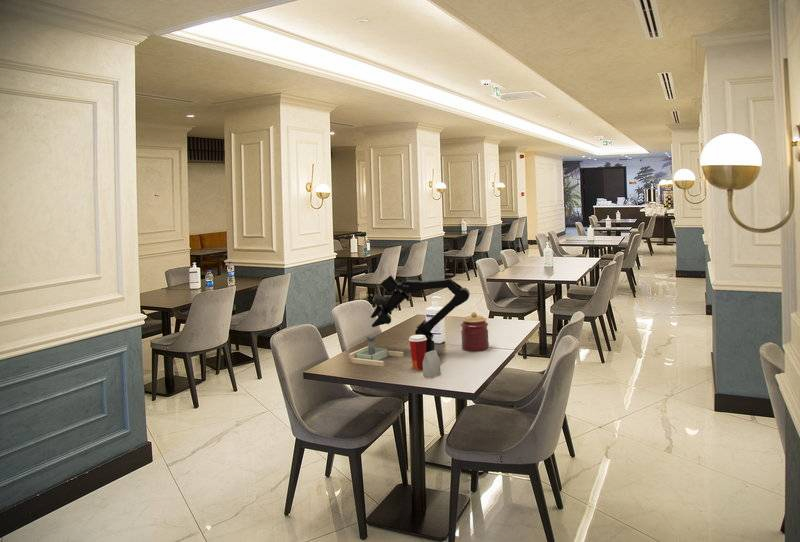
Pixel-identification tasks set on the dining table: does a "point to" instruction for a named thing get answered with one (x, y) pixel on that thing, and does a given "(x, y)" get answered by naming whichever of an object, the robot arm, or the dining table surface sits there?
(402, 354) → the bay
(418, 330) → the robot arm
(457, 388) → the dining table surface
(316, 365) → the dining table surface
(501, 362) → the dining table surface
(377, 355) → the green base with post
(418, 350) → the paper cup
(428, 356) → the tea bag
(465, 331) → the canister
